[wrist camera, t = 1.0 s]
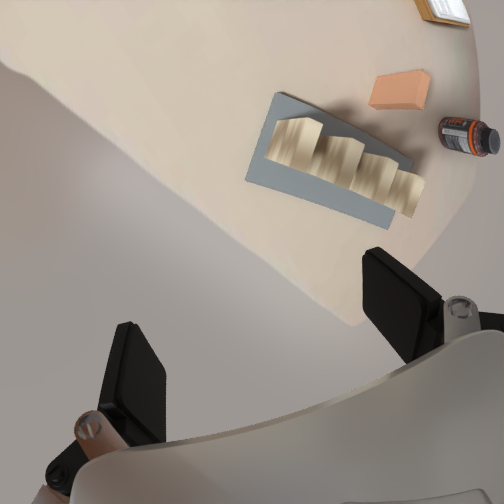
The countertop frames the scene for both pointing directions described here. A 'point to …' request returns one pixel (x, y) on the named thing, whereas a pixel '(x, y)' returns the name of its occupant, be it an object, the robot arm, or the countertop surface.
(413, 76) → the domino
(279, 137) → the domino
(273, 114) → the runway mat
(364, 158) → the domino
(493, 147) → the supplement bottle
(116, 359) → the robot arm
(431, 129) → the countertop surface
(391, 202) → the domino
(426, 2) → the soap dish
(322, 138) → the domino
